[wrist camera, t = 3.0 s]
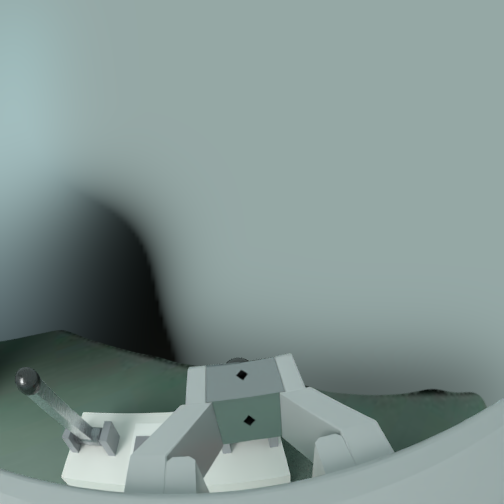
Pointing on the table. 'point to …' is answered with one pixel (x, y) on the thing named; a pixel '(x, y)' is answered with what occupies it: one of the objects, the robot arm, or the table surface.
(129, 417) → the switch unit
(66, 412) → the lever
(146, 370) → the table surface
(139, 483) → the robot arm
